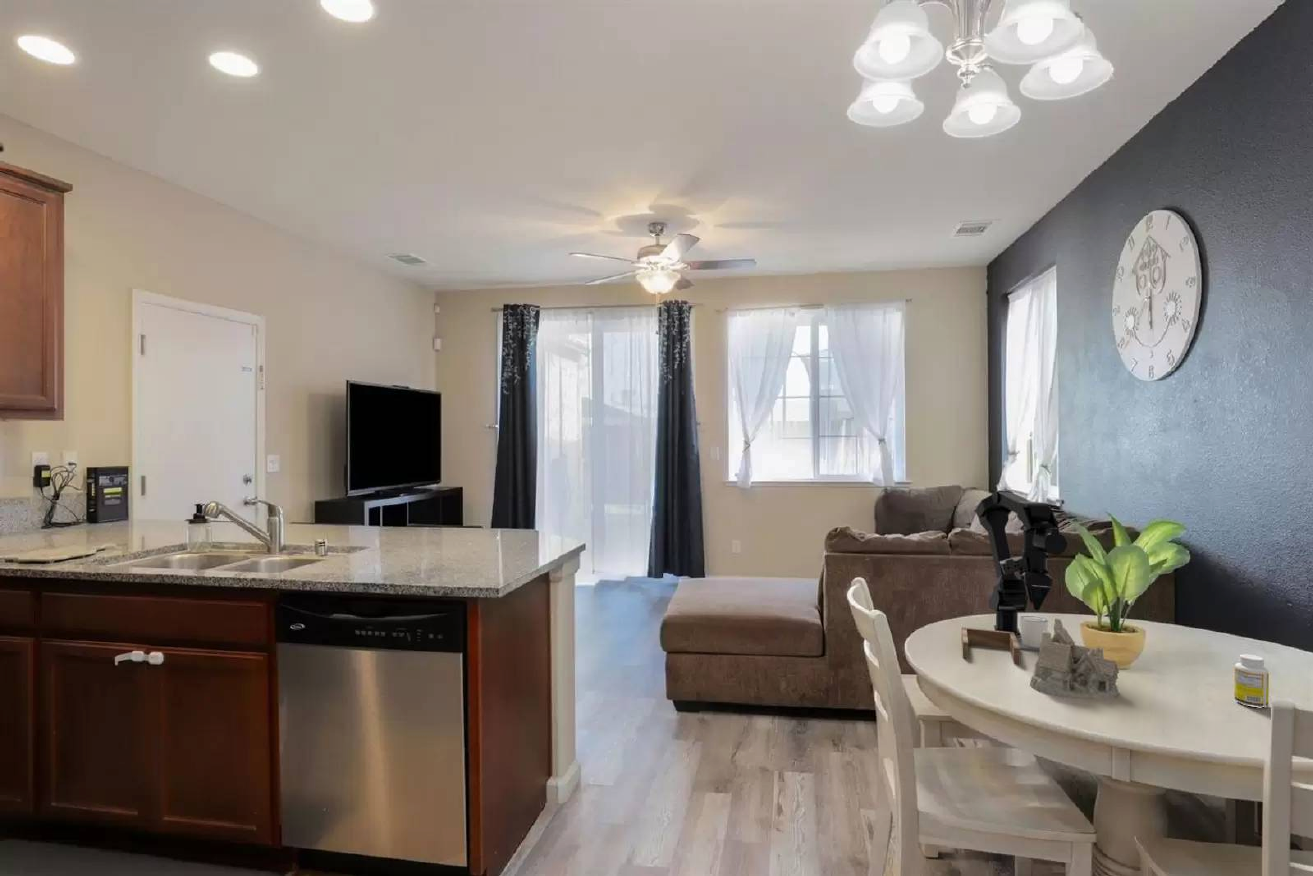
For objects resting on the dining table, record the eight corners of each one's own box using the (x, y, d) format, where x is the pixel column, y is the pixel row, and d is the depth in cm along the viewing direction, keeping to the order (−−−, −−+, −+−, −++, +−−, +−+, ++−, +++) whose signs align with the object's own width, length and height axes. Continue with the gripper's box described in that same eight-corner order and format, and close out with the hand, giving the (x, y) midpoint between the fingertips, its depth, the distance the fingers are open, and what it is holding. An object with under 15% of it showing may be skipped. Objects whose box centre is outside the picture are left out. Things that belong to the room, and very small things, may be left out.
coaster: (1013, 640, 195) (1013, 638, 195) (1050, 644, 191) (1050, 642, 191) (1016, 649, 186) (1016, 647, 186) (1054, 653, 183) (1054, 651, 183)
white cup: (1053, 648, 185) (1053, 622, 185) (1027, 648, 186) (1027, 621, 186) (1039, 640, 192) (1040, 615, 192) (1014, 640, 192) (1014, 615, 192)
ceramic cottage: (1019, 684, 159) (1025, 620, 159) (1054, 674, 169) (1060, 613, 168) (1092, 711, 146) (1100, 641, 146) (1126, 698, 156) (1133, 632, 155)
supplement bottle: (1250, 699, 152) (1251, 652, 152) (1275, 709, 147) (1276, 660, 147) (1227, 699, 152) (1228, 653, 152) (1251, 710, 146) (1252, 661, 146)
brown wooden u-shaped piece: (961, 641, 193) (961, 627, 193) (1013, 647, 188) (1014, 632, 188) (962, 657, 179) (963, 642, 179) (1019, 664, 174) (1019, 648, 174)
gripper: (999, 542, 200) (998, 596, 200) (1004, 551, 183) (1004, 611, 183) (1043, 545, 196) (1042, 600, 196) (1052, 554, 179) (1052, 615, 179)
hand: (1034, 606), depth 189 cm, fingers open, 9 cm apart
